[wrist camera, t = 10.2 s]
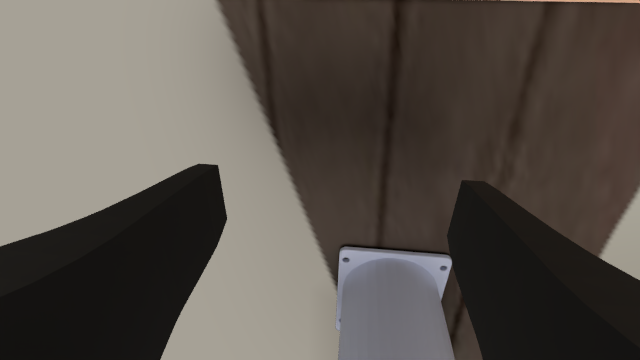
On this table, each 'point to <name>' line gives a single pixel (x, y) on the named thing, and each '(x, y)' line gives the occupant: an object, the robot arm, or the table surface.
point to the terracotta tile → (585, 0)
